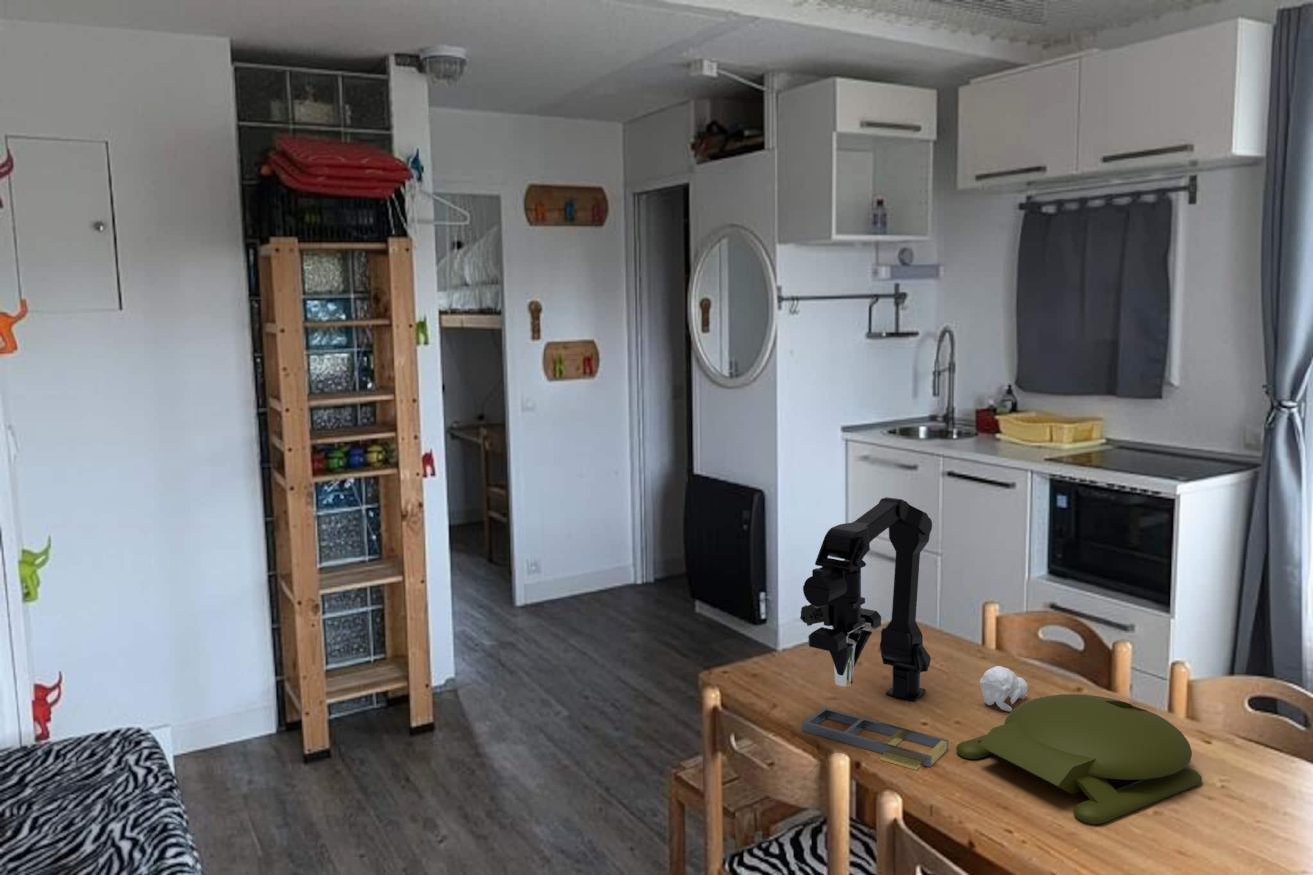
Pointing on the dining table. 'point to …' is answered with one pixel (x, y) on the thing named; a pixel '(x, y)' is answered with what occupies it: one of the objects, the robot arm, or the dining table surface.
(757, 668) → the dining table surface
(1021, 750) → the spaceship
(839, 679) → the milkshake
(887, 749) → the rail
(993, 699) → the white bear figurine
